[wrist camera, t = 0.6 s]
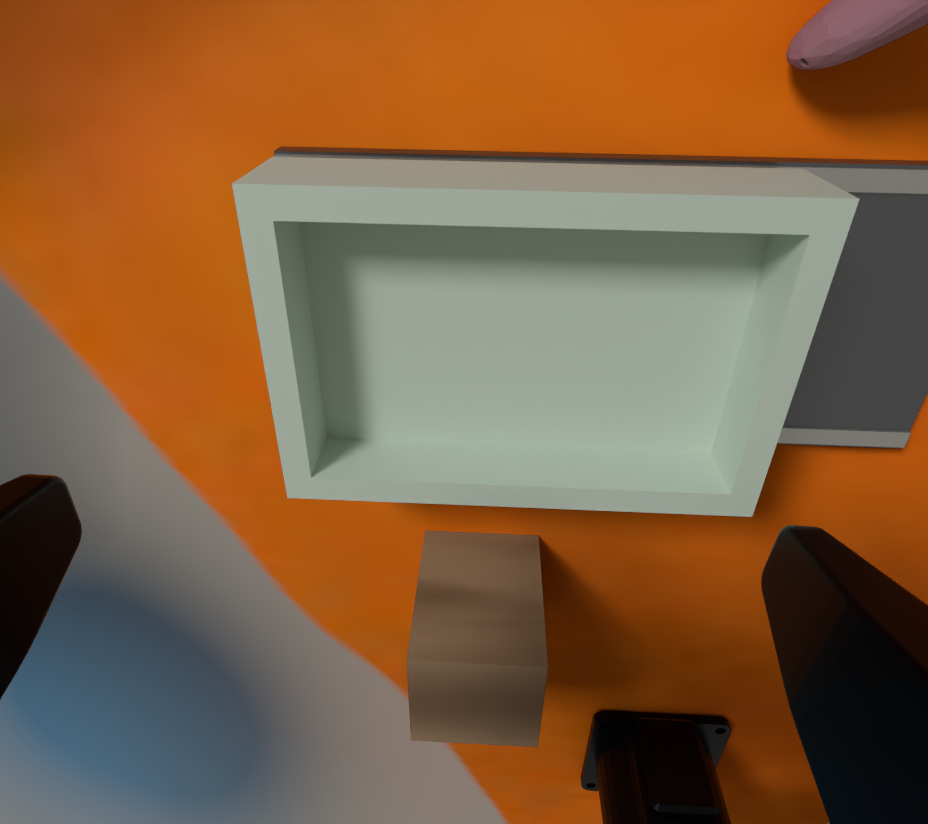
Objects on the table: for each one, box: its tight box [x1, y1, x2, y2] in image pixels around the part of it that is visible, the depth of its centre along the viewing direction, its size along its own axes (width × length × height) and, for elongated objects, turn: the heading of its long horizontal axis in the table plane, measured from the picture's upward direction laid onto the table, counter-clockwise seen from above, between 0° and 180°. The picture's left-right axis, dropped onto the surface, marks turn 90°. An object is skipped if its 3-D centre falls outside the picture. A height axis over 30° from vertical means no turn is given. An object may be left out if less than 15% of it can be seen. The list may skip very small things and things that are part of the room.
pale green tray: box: [232, 157, 859, 517], centre depth 18 cm, size 9×14×4 cm, turn 89°
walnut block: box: [407, 531, 548, 747], centre depth 24 cm, size 4×4×6 cm
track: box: [274, 147, 928, 448], centre depth 20 cm, size 9×20×1 cm, turn 89°
